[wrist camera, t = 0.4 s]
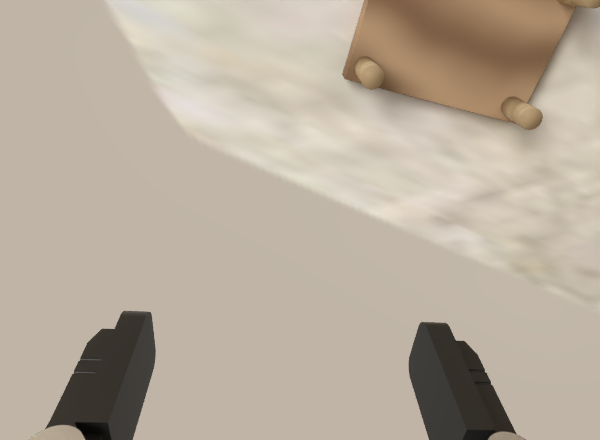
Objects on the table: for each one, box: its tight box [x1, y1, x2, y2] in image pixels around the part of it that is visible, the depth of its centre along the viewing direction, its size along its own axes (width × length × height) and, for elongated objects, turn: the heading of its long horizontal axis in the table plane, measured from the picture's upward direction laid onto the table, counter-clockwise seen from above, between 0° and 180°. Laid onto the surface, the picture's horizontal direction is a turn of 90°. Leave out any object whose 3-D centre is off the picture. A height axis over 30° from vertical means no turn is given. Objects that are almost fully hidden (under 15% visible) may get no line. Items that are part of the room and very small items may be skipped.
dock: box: [342, 0, 600, 130], centre depth 33 cm, size 11×15×5 cm
